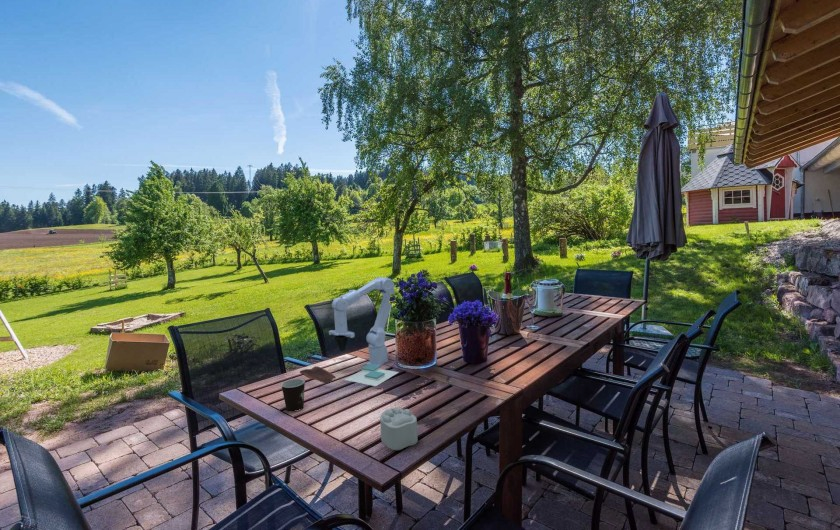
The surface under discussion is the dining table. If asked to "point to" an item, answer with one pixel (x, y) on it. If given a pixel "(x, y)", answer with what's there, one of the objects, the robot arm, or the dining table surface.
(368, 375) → the tile
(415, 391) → the dining table surface
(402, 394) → the dining table surface
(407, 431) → the lumpy-topped squat cylinder
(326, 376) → the wooden tablet
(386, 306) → the robot arm
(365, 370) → the flat tile
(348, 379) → the felt mat
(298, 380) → the coffee mug
